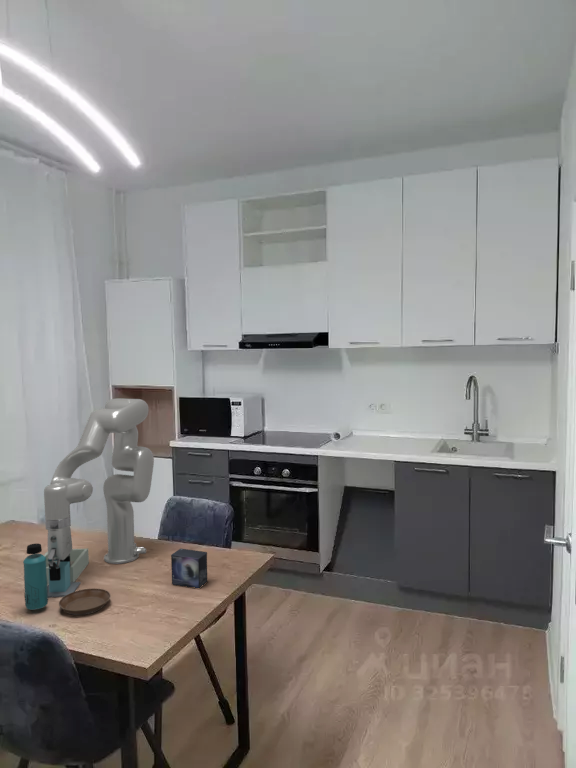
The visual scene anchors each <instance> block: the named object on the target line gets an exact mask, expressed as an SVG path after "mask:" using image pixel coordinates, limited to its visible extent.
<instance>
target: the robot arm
mask: <svg viewBox="0 0 576 768" xmlns="http://www.w3.org/2000/svg"><path fill="white" fill-rule="evenodd" d="M149 409H150V408H149V405H148V403H147V402H146V401H145V400H144V399H140V398H122V397H121V398H120V397H119V398H112V399H111V398H110V399H109V400H107V401H106V403H105V404H104V408H97V409H95V410H93V411H92V412H91V413H90V415H89V416H88V419H87V422H86V424H85V427H84V430H83V431H82V434H81V437H80V439H79V442H78V444H77V446H76V448H74V449H73V450H72V451H70V452H69V453H68V454H67V455H66V456H65V457H64V458H63V459H62V460H61V461H60V462H59V464H58V465H57V466H56V469H55V471H54V473H53V475H52V477H51V478H52V479H51V481H50V484H49V485H47V486H45V487H44V490H43V499H44V523H45V530H47V551H48V562H49V564H48V565H49V572H50V581H59V580H60V579H61V573H60V568H59V564H60V562H68V561H70V553H71V551H72V549H73V539H72V530H71V525H72V524H71V522H72V520H71V505H72V504H79V503H82V502H85V501H87V500H88V499H90V497H91V496H92V494H93V489H94V487H93V484H92V483H91V481H89V480H86V479H83V478H76V477H75V478H74V477H72V476H73V474H74V473H75V471H76V470H77V469H79V467H81V466H82V465H84V464H87V463H88V462H91V461H93V460H95V459H97V458H99V457H101V456H102V454H103V452H104V449H105V446H106V444H107V441H108V438H109V436H110V434H111V433H112V434H114V442H113V448H112V456H111V465H112V468H114V469H115V470H117V471H122V472H133V475H131V474H130V475H129V474H123V473H122V474H118V473H116V474H111V475H110V476H108V477H106V479H105V480H104V481H103V482H104V483H103V487H102V489H103V495H104V499H105V500H104V501H105V506H106V521H107V522H106V523H107V524H106V525H107V526H106V527H107V528H106V529H107V553H106V554H104V556H103V561H104V562H106V563H107V564H114V565H117V564H118V565H121V564H127V563H130V562H133V561H136V560H137V559H138V558H139V557H140V554H146V553H147V547H144V546H137V542H135V524H134V523H135V519H134V517H135V515H134V512H135V511H134V507H133V505H132V503H143V502H144V501H147V499H148V498H149V496H150V492H151V487H152V480H153V479H152V478H153V474H154V473H153V472H154V463H155V462H154V461H155V460H154V459H155V458H154V454H153V452H152V450H151V449H150V448H149V447H145V446H141V445H139V446H138V443H139V442H138V440H139V430H138V427H137V426H139V424H141V423H143V422H144V421H145V420H146V418H147V417H148V416H149ZM56 557H58V558H56ZM54 561H57V564H56V563H55V562H54Z"/></svg>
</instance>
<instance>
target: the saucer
mask: <svg viewBox="0 0 576 768" xmlns="http://www.w3.org/2000/svg"><path fill="white" fill-rule="evenodd" d="M110 599H111V593H110V591H108V590H107V589H104V588H95V587H94V588H85V589H79V590H76V591H75V592H72V593H70V594H68V595H66V596H64V597H61V599H60V600H59V601H58V606H59V607H60V608H61V609H62V611H64V612H65V613H67V614H69V615H73V616H83V615H84V616H85V615H89V614H92V613H95V612H98V611H99V610H101V609H103V607H104V606H105V605H106V604H107V603H108V602H109V600H110Z"/></svg>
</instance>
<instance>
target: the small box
mask: <svg viewBox="0 0 576 768" xmlns="http://www.w3.org/2000/svg"><path fill="white" fill-rule="evenodd" d="M170 557H171V558H170V560H171V562H170V563H171V564H170V565H171V585H172V584H173V586H177V585H180V586H179V587H183V586H187V587H186V588H189V587H195V588H200V587H201V586H202V585H203V586H205V585H206V584H207V583H208V552H207V551H201V550H195V549H187V548H179V549H177V550H176V551H174V552H173V553H172V554H170ZM206 582H207V583H206ZM205 583H206V584H205ZM204 584H205V585H204ZM203 586H202V587H203ZM202 587H201V588H202ZM195 588H194V589H195ZM201 588H200V589H201Z"/></svg>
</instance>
